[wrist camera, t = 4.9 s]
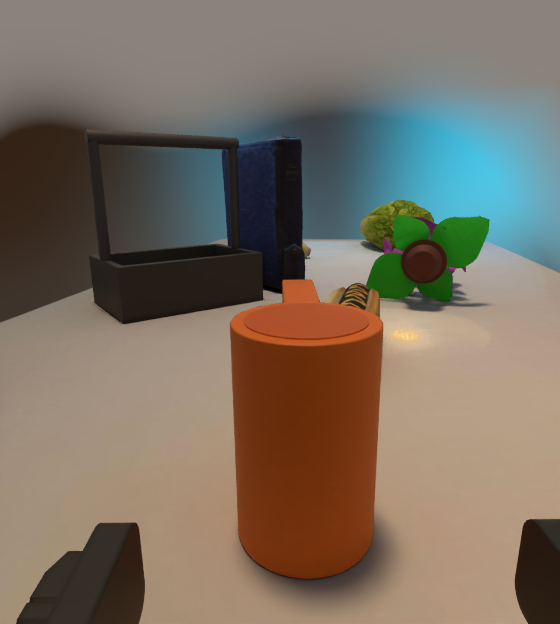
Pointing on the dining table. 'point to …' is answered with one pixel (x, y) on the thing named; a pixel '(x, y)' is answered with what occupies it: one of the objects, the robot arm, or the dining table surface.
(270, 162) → the book
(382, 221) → the lettuce
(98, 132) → the basket
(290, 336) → the measuring cup
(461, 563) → the dining table surface
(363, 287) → the hot dog
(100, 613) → the robot arm
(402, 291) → the potted plant
